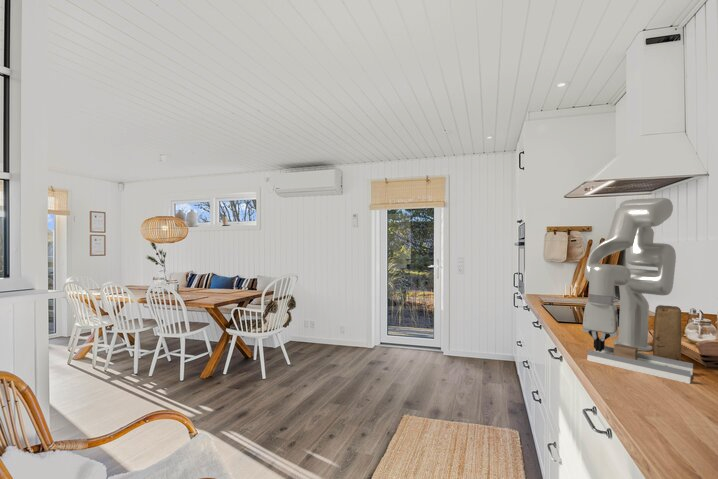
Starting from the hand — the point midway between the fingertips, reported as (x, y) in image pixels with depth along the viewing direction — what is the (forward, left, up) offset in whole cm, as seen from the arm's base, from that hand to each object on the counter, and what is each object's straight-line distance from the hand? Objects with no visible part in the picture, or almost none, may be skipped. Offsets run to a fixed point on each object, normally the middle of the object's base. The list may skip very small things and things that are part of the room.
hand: (598, 350), depth 133 cm
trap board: (0, +11, -3) cm, 12 cm away
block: (-14, +17, -3) cm, 23 cm away
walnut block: (0, +8, -1) cm, 8 cm away
